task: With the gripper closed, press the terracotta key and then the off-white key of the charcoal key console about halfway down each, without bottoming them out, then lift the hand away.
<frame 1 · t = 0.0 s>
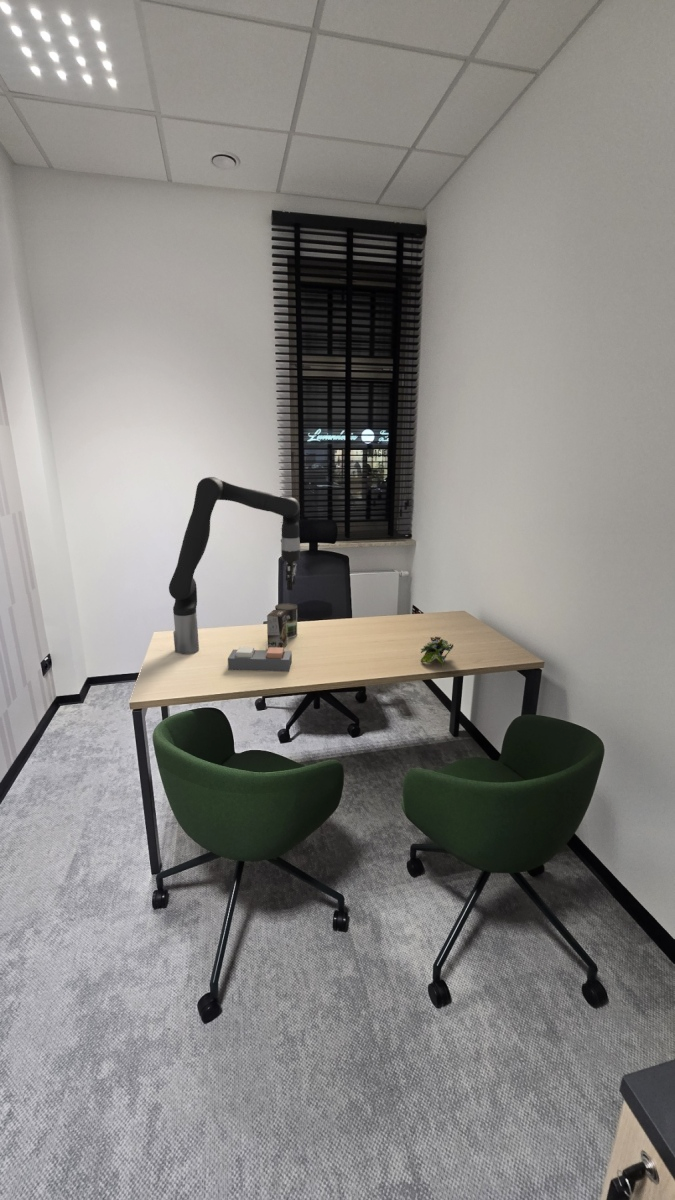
hand: (291, 587, 199), 29 cm above the table, fingers open, 8 cm apart
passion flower: (436, 662, 200), on the table
coffee can: (286, 635, 228), on the table
key console: (260, 666, 194), on the table
terracotta key: (275, 653, 192), point 6 cm above the table, slide at 0.0 cm
offwhite key: (245, 653, 192), point 6 cm above the table, slide at 0.0 cm
coffee box: (277, 647, 213), on the table
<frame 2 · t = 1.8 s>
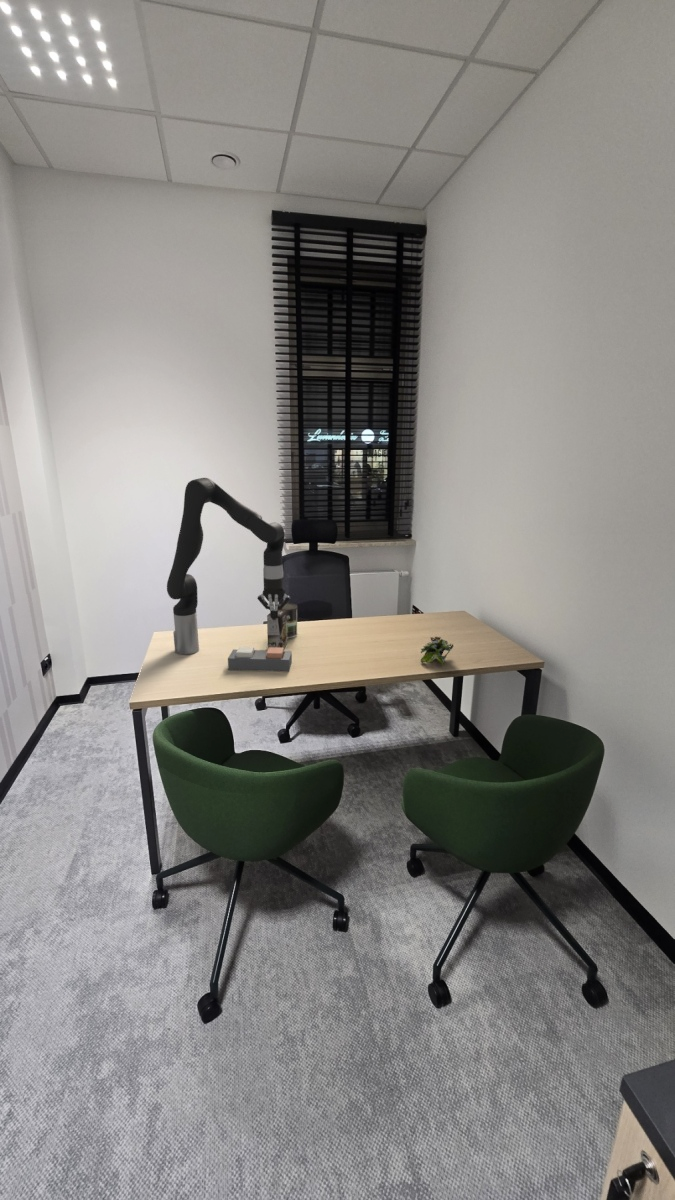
hand: (274, 619, 188), 20 cm above the table, fingers closed
nothing on the table moved.
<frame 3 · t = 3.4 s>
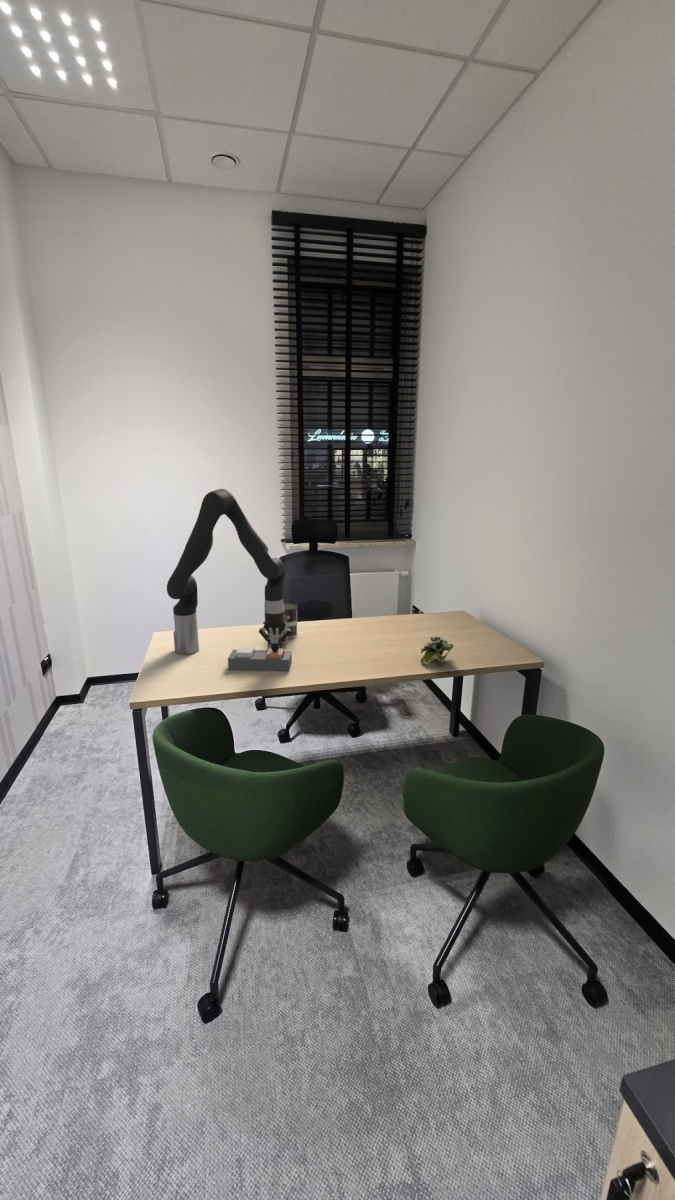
hand: (275, 651, 192), 7 cm above the table, fingers closed
terracotta key: (275, 654, 192), point 5 cm above the table, slide at 0.5 cm, touching gripper
everything else where it was.
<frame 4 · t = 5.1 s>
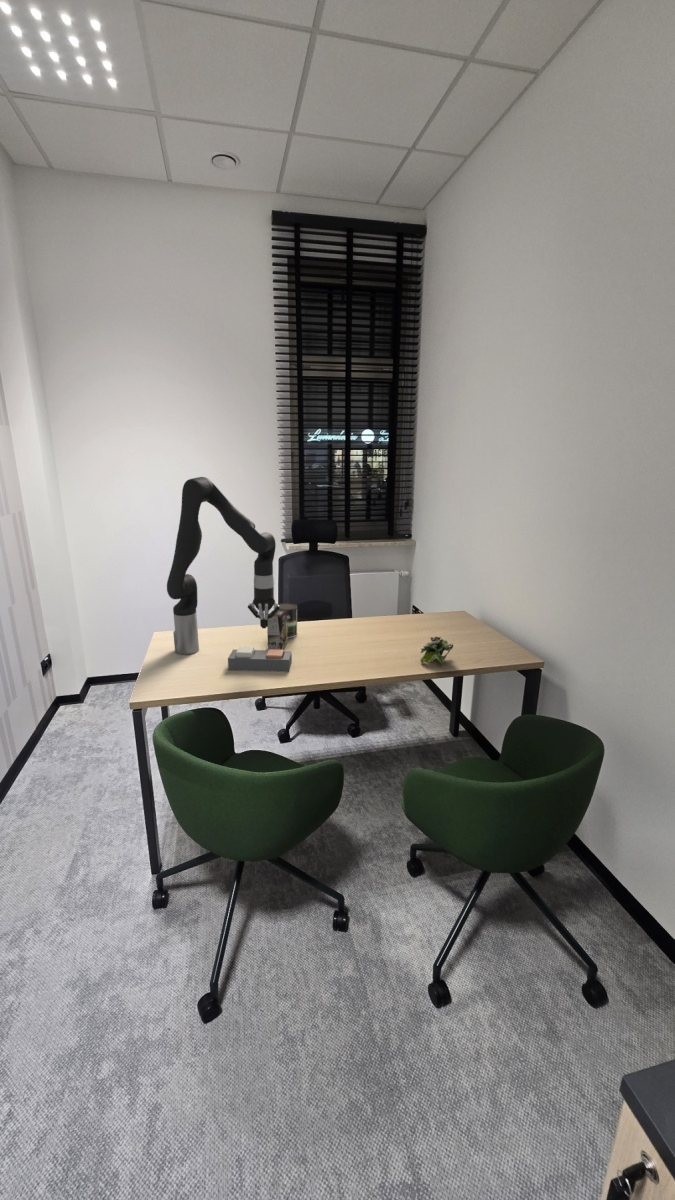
hand: (264, 627, 190), 16 cm above the table, fingers closed
terracotta key: (275, 655, 193), point 5 cm above the table, slide at 0.9 cm
everything else where it was.
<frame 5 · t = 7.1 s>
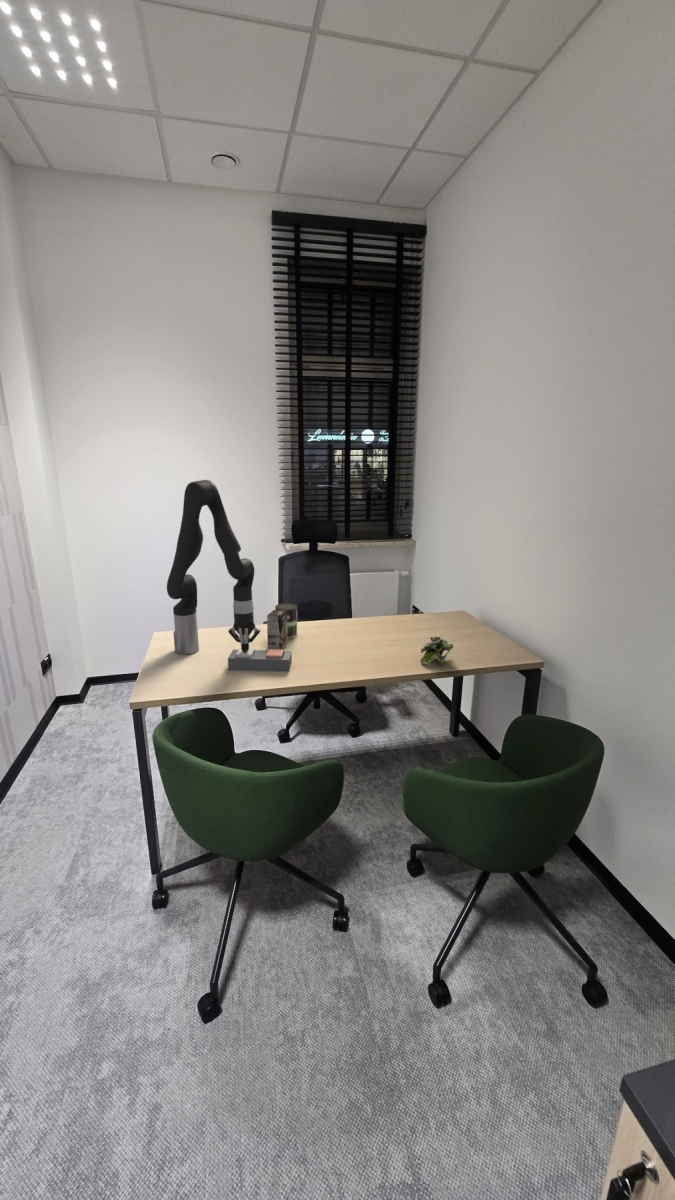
hand: (245, 651, 192), 6 cm above the table, fingers closed
offwhite key: (245, 654, 193), point 5 cm above the table, slide at 0.8 cm, touching gripper
everything else where it was.
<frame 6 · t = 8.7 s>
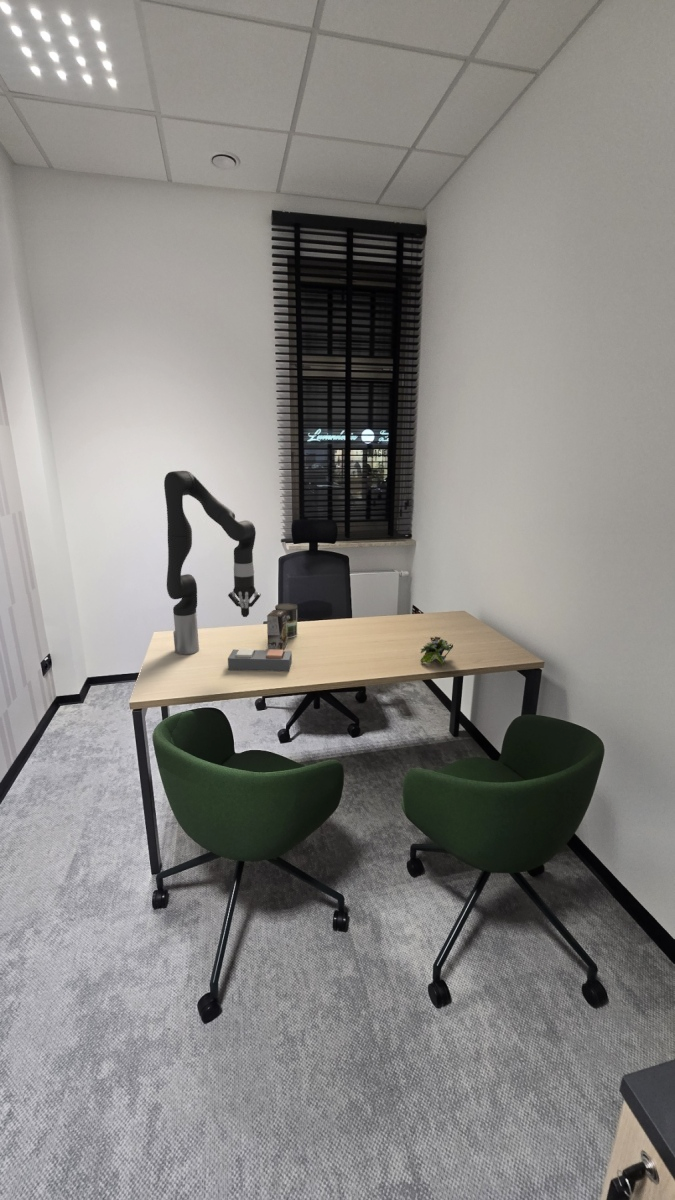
hand: (245, 616, 190), 20 cm above the table, fingers closed
offwhite key: (245, 655, 193), point 5 cm above the table, slide at 1.0 cm
everything else where it was.
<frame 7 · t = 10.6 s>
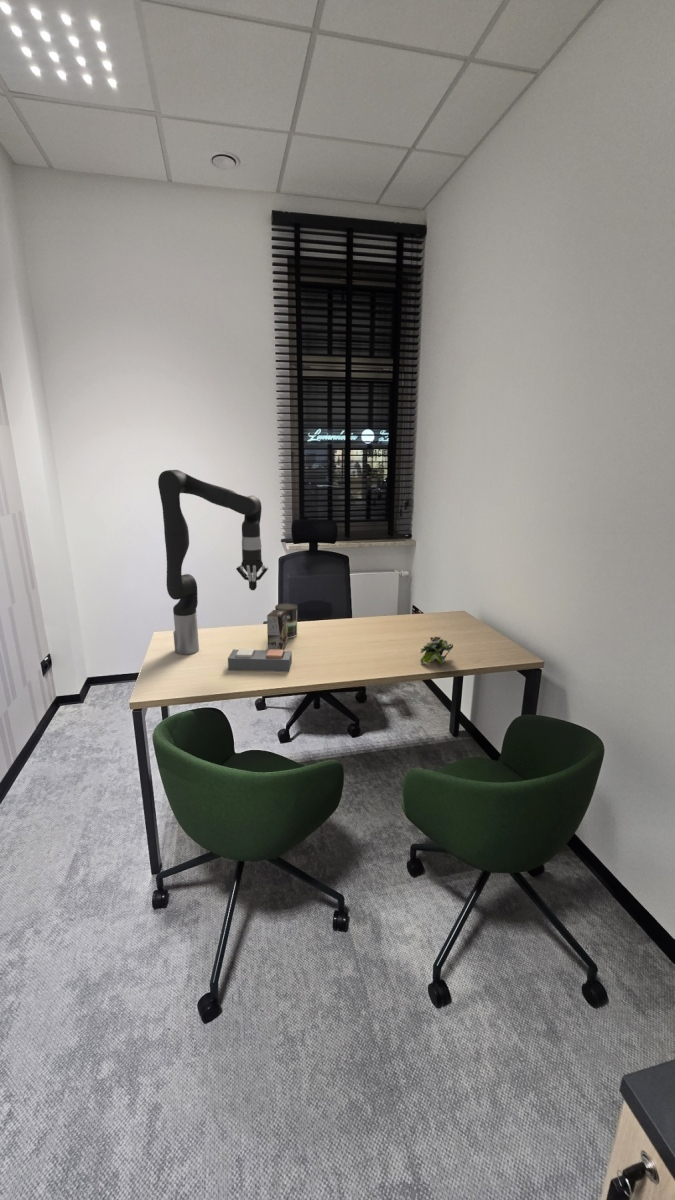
hand: (253, 589, 195), 29 cm above the table, fingers closed
nothing on the table moved.
at the end: terracotta key slide at 0.9 cm; offwhite key slide at 1.0 cm; coffee box moved 0.2 cm from its start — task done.
